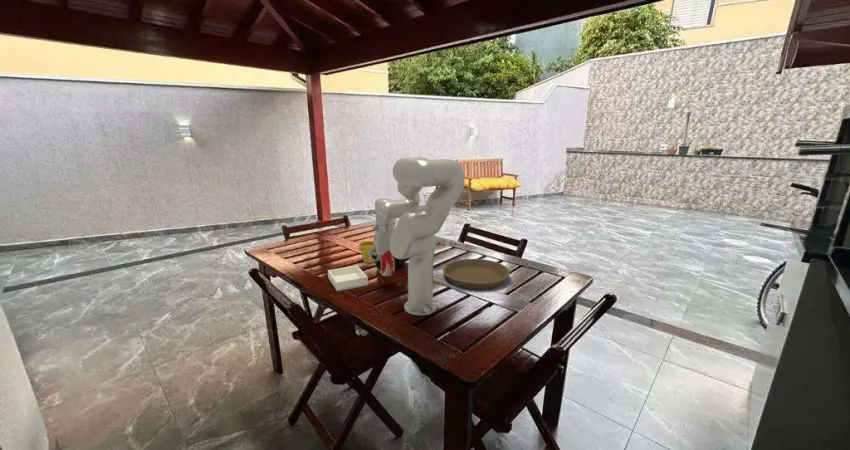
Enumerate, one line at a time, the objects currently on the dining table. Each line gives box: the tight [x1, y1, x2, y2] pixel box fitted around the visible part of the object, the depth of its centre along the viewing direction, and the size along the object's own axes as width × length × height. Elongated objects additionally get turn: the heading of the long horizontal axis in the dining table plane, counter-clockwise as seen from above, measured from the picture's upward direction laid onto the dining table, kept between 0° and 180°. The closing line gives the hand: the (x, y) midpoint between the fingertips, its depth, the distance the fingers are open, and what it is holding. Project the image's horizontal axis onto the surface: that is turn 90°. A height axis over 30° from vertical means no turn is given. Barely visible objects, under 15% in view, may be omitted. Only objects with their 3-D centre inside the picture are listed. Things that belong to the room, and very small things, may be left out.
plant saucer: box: [442, 258, 511, 290], centre depth 166 cm, size 31×31×5 cm
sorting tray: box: [327, 265, 369, 292], centre depth 160 cm, size 16×14×4 cm
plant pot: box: [358, 240, 376, 264], centre depth 187 cm, size 10×10×10 cm
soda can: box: [378, 249, 396, 277], centre depth 153 cm, size 7×7×12 cm
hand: (386, 266), depth 154 cm, fingers closed on soda can, 7 cm apart
